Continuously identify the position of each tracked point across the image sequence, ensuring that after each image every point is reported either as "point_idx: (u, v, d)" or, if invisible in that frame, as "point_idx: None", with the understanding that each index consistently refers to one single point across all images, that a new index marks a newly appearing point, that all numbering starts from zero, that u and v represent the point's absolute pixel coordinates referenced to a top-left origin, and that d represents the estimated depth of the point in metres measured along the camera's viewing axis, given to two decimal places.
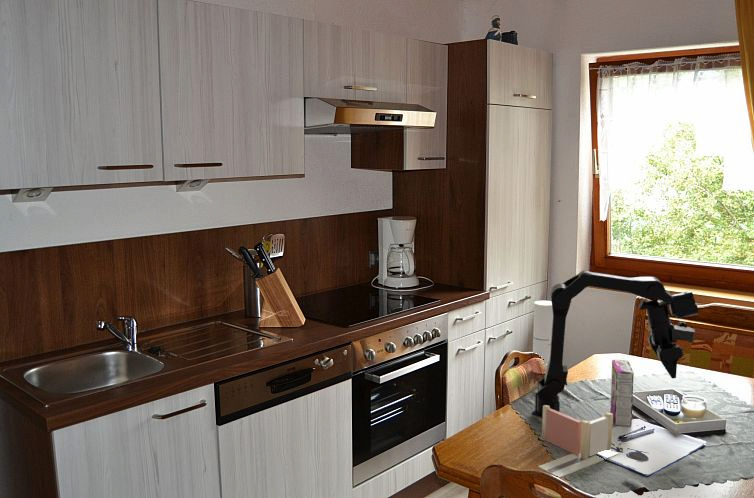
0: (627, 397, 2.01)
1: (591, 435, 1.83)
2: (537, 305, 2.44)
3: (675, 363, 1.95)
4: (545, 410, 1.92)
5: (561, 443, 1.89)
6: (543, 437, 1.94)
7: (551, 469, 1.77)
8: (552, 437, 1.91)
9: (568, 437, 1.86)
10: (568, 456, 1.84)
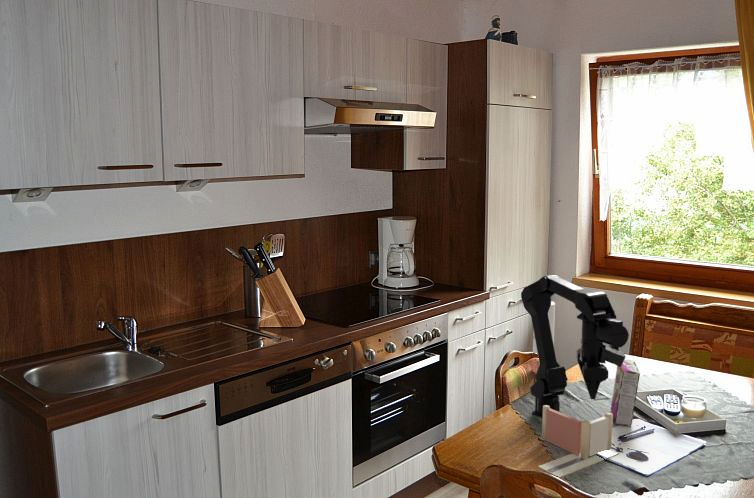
0: (631, 397, 2.01)
1: (591, 435, 1.83)
2: None
3: (598, 384, 1.86)
4: (545, 410, 1.92)
5: (561, 443, 1.89)
6: (543, 437, 1.94)
7: (551, 469, 1.77)
8: (552, 437, 1.91)
9: (568, 437, 1.86)
10: (568, 456, 1.84)
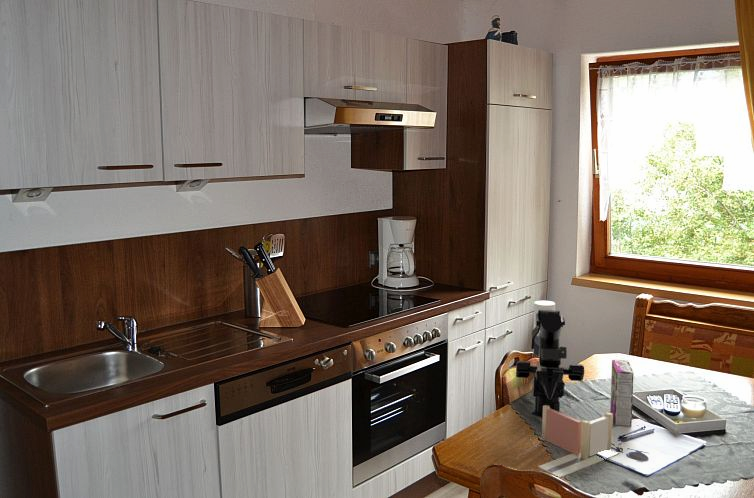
0: (627, 397, 2.01)
1: (591, 435, 1.83)
2: (537, 305, 2.44)
3: None
4: (545, 410, 1.92)
5: (561, 443, 1.89)
6: (543, 437, 1.94)
7: (551, 469, 1.77)
8: (552, 437, 1.91)
9: (568, 437, 1.86)
10: (568, 456, 1.84)
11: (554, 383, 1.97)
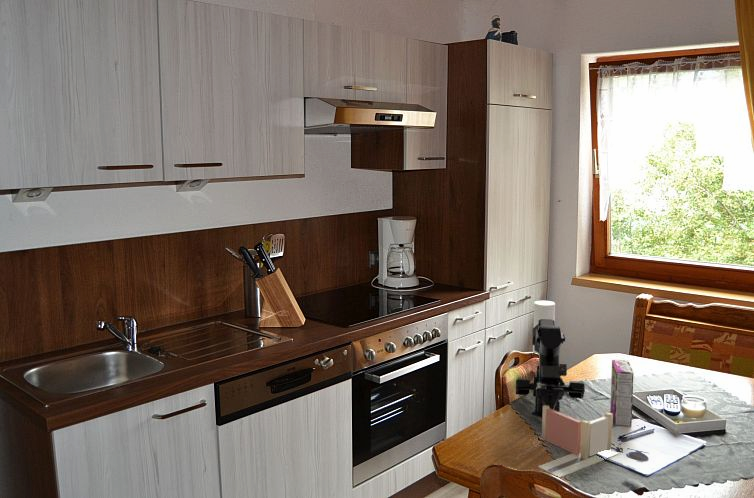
0: (627, 397, 2.01)
1: (591, 435, 1.83)
2: (537, 305, 2.44)
3: None
4: (545, 410, 1.92)
5: (561, 443, 1.88)
6: (543, 437, 1.93)
7: (551, 469, 1.77)
8: (552, 437, 1.91)
9: (568, 437, 1.86)
10: (568, 456, 1.84)
11: (554, 401, 1.95)
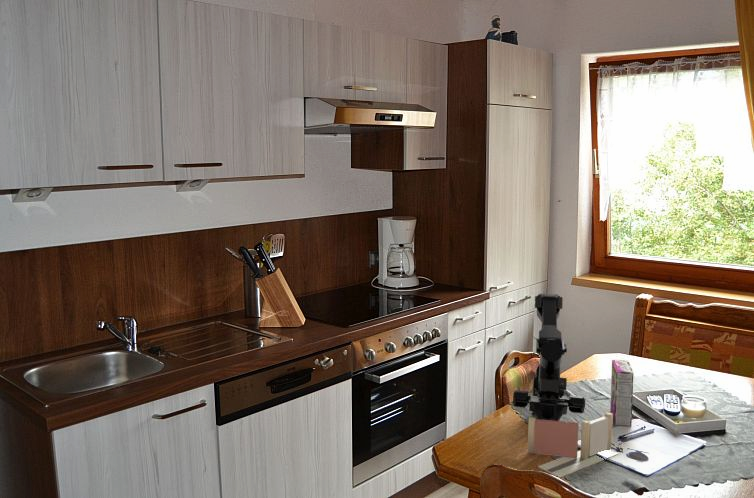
0: (627, 397, 2.01)
1: (591, 435, 1.83)
2: None
3: None
4: (533, 422, 1.84)
5: (555, 451, 1.84)
6: (531, 451, 1.85)
7: (551, 469, 1.77)
8: (543, 448, 1.85)
9: (565, 442, 1.83)
10: None
11: (557, 416, 1.86)
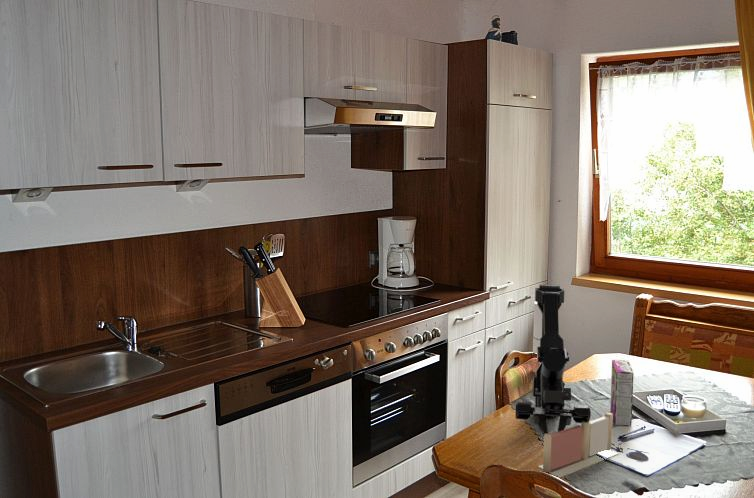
0: (627, 397, 2.01)
1: (591, 435, 1.83)
2: None
3: None
4: (551, 438, 1.74)
5: (566, 460, 1.79)
6: (549, 469, 1.75)
7: None
8: (557, 461, 1.77)
9: (573, 448, 1.79)
10: None
11: (562, 428, 1.79)
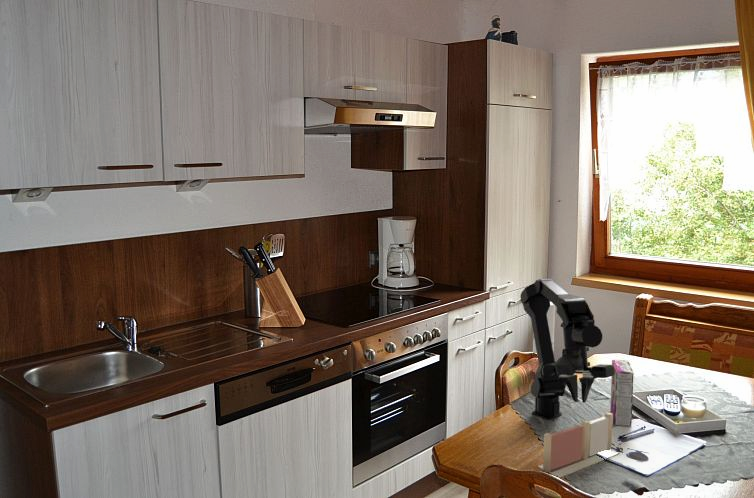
0: (627, 397, 2.01)
1: (591, 435, 1.83)
2: None
3: None
4: (551, 438, 1.74)
5: (566, 460, 1.79)
6: (549, 469, 1.75)
7: None
8: (557, 461, 1.77)
9: (573, 448, 1.79)
10: None
11: (584, 388, 1.88)
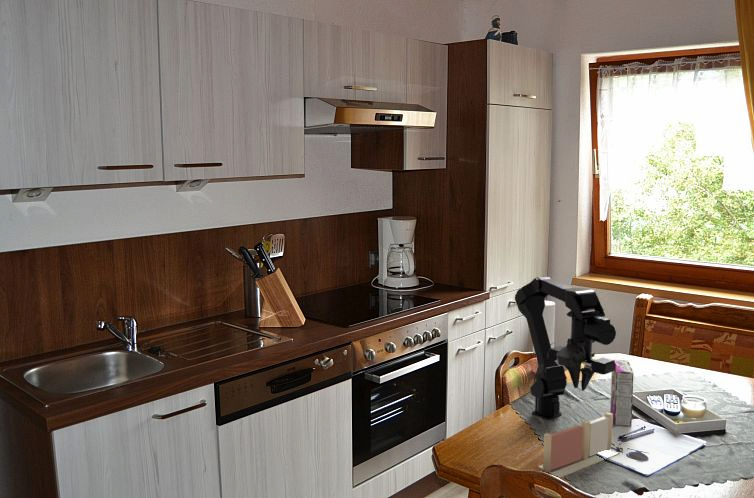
0: (627, 397, 2.01)
1: (591, 435, 1.83)
2: None
3: None
4: (551, 438, 1.74)
5: (566, 460, 1.79)
6: (549, 469, 1.75)
7: None
8: (557, 461, 1.77)
9: (573, 448, 1.79)
10: None
11: (584, 378, 1.93)
